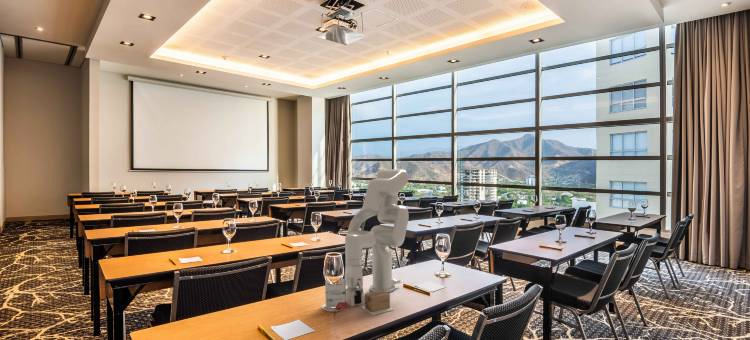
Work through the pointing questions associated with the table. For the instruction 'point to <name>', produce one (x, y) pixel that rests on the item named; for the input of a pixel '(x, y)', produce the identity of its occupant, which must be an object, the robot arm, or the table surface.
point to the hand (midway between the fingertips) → (354, 300)
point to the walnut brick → (377, 301)
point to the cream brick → (352, 297)
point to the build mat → (378, 311)
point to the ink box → (336, 294)
